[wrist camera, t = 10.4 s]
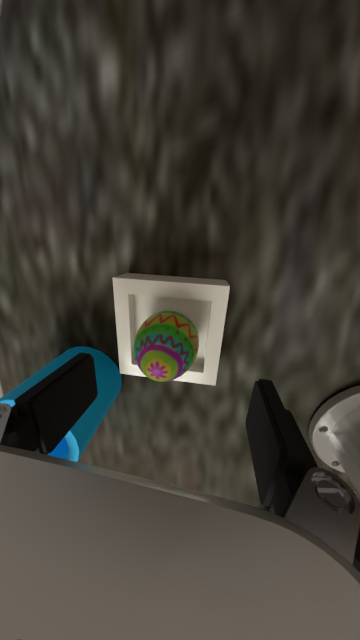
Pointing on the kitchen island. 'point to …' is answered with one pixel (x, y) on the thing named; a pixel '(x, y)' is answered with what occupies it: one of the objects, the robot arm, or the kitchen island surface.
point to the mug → (91, 419)
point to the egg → (166, 346)
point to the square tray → (172, 295)
